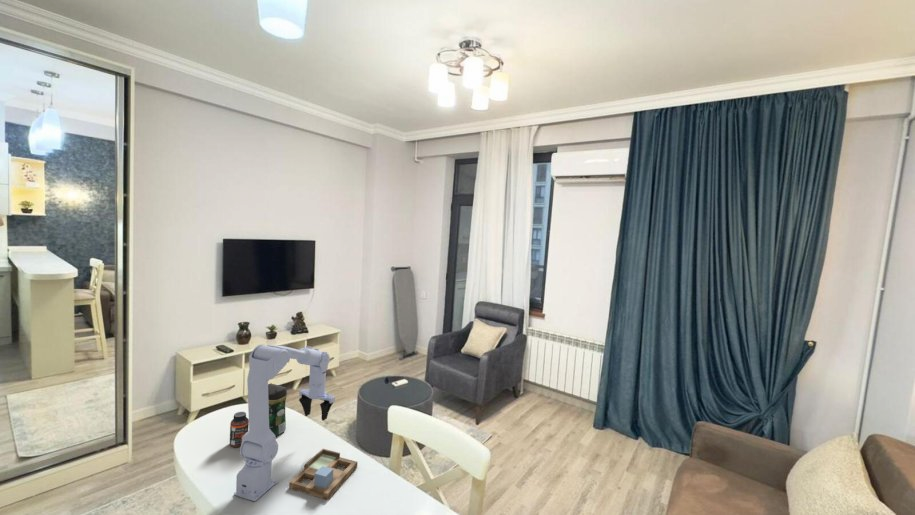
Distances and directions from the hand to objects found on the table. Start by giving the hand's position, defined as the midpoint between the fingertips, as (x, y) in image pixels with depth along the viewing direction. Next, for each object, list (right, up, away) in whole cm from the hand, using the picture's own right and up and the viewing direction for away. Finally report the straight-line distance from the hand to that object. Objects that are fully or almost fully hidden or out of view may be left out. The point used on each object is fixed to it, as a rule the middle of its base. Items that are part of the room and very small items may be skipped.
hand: (315, 417), depth 144 cm
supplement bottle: (-27, -9, -3) cm, 29 cm away
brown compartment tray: (+10, -12, -18) cm, 24 cm away
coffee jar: (-19, -8, +6) cm, 22 cm away
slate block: (+11, -11, -24) cm, 29 cm away
